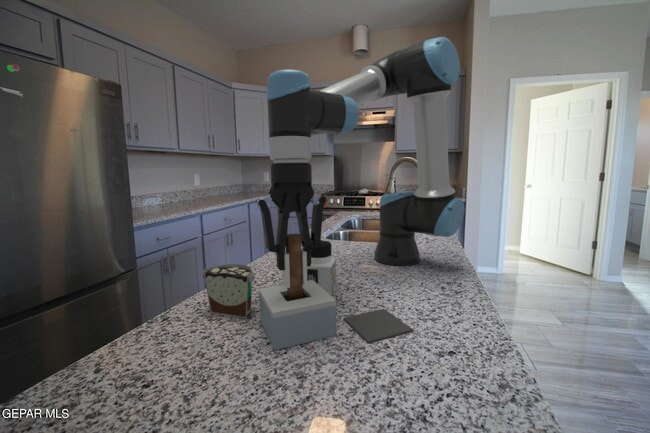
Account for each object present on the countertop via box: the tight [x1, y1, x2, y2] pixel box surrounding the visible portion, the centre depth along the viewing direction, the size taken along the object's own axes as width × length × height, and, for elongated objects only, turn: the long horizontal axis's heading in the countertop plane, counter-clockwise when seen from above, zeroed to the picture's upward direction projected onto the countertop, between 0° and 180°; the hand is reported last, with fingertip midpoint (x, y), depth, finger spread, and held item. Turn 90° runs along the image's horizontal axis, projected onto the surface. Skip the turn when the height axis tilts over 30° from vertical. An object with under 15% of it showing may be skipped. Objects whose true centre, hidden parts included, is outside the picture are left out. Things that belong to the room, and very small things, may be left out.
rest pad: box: [343, 308, 414, 344], centre depth 63 cm, size 10×10×1 cm
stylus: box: [285, 233, 303, 301], centre depth 61 cm, size 3×3×15 cm
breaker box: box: [258, 280, 337, 351], centre depth 62 cm, size 12×12×7 cm
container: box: [307, 239, 337, 296], centre depth 81 cm, size 8×8×13 cm
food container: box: [201, 263, 256, 319], centre depth 70 cm, size 12×6×10 cm, turn 71°
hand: (294, 283), depth 61 cm, fingers closed on stylus, 3 cm apart
